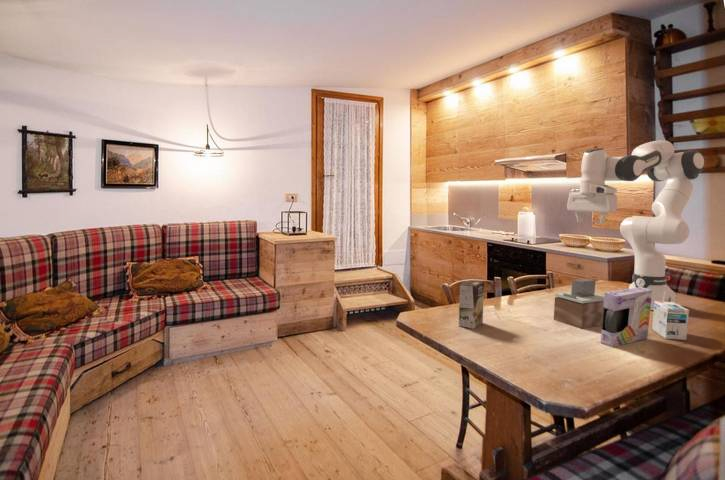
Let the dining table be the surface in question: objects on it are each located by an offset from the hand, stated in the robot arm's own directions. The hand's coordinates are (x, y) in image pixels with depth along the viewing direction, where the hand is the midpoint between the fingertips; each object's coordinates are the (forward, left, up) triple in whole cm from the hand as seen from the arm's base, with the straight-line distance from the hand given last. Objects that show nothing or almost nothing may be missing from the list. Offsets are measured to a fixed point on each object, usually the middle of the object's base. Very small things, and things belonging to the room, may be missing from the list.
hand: (589, 222), depth 177 cm
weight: (+14, +9, -27) cm, 32 cm away
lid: (+14, +9, -28) cm, 32 cm away
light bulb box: (0, +33, -37) cm, 50 cm away
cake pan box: (+21, +30, -37) cm, 52 cm away
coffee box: (+55, -7, -37) cm, 67 cm away
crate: (+14, +9, -37) cm, 41 cm away
